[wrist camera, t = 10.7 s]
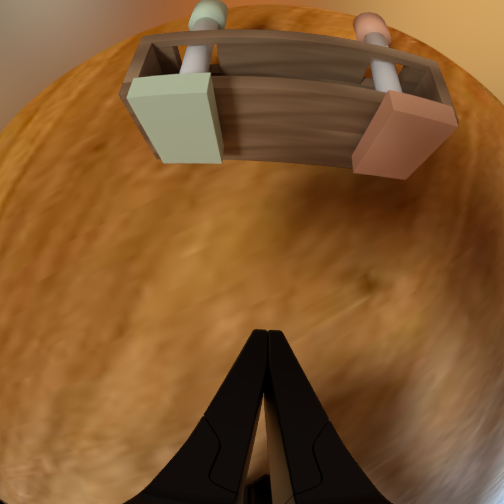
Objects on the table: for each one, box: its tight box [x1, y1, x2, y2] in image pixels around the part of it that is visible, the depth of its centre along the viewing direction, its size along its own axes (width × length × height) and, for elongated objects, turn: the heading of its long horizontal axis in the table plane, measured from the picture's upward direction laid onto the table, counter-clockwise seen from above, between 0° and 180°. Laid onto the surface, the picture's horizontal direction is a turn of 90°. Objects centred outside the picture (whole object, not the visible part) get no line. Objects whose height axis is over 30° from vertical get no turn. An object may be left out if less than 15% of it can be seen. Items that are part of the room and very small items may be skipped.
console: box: [118, 29, 459, 169], centre depth 21 cm, size 6×22×9 cm, turn 87°
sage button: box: [127, 0, 228, 164], centre depth 19 cm, size 14×4×8 cm, turn 177°
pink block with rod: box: [352, 13, 458, 180], centre depth 19 cm, size 14×4×8 cm, turn 177°
